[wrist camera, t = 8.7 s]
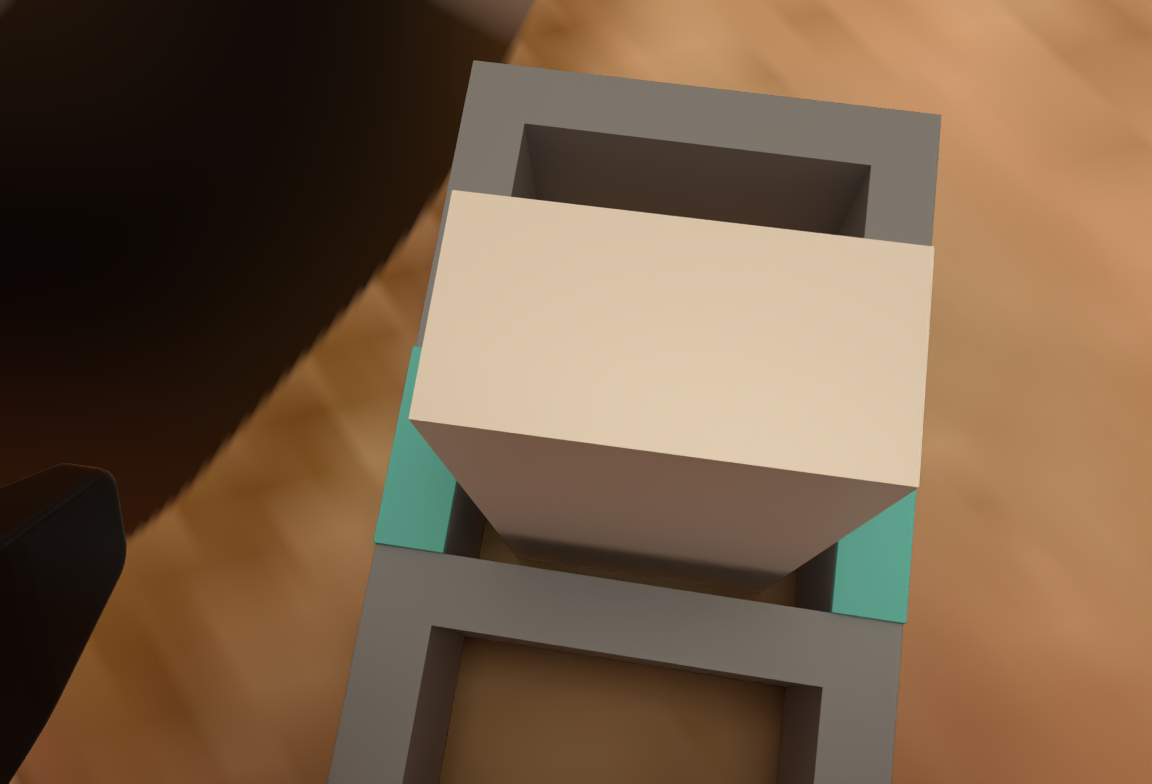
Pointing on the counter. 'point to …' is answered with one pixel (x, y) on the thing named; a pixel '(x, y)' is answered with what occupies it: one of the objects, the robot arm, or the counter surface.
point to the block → (672, 385)
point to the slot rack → (617, 608)
